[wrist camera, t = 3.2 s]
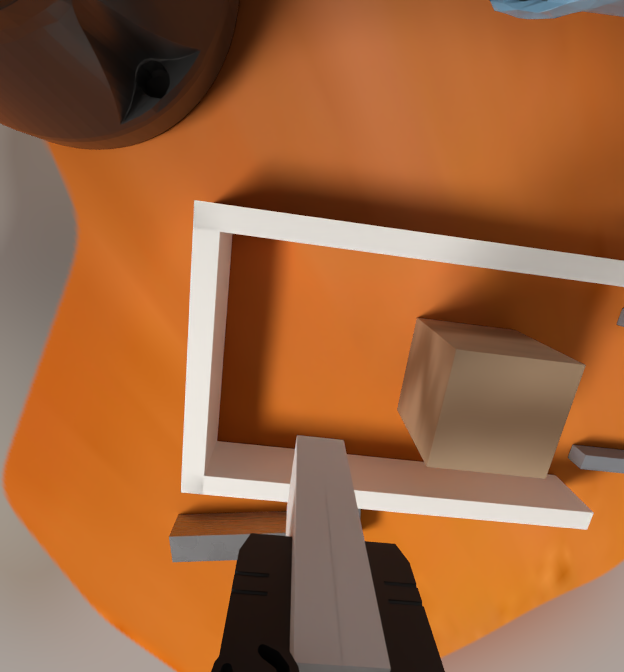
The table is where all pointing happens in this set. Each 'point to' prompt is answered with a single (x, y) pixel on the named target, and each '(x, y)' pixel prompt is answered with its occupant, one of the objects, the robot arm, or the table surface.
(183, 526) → the crook tool
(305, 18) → the table surface
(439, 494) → the cubby
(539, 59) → the table surface
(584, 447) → the grey bracket
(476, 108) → the table surface
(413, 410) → the walnut cube
